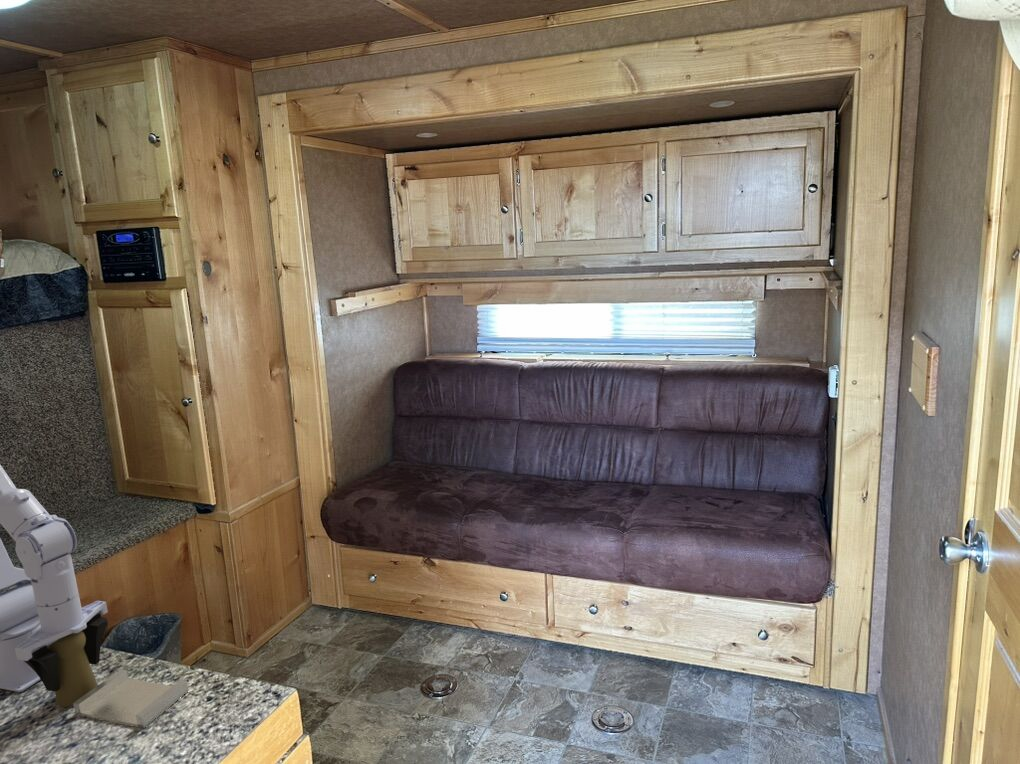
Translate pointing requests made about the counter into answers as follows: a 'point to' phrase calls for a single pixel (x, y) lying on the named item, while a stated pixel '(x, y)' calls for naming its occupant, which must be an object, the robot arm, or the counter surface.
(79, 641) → the brown rounded piece
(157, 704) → the bottom track
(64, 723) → the counter surface
